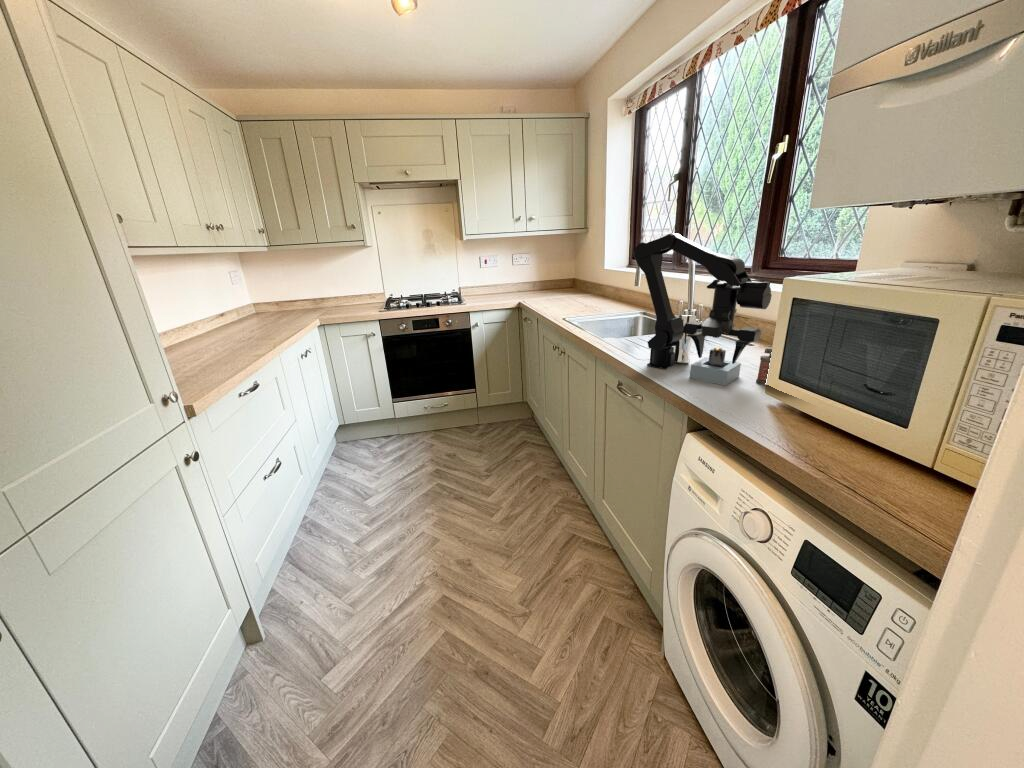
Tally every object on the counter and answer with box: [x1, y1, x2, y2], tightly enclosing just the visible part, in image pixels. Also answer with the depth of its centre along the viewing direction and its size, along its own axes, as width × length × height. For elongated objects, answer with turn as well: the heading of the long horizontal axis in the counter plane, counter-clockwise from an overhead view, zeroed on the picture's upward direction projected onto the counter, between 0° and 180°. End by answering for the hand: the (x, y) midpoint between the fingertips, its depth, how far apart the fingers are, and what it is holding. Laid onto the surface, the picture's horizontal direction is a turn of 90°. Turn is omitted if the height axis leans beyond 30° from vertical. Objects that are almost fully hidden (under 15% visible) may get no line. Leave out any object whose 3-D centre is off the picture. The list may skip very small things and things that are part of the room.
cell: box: [708, 347, 726, 368], centre depth 113 cm, size 4×4×8 cm
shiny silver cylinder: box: [672, 314, 697, 364], centre depth 128 cm, size 7×7×15 cm
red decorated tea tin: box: [755, 347, 773, 386], centre depth 106 cm, size 8×3×10 cm, turn 56°
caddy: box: [689, 356, 742, 386], centre depth 114 cm, size 10×10×4 cm
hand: (716, 360), depth 113 cm, fingers open, 9 cm apart
